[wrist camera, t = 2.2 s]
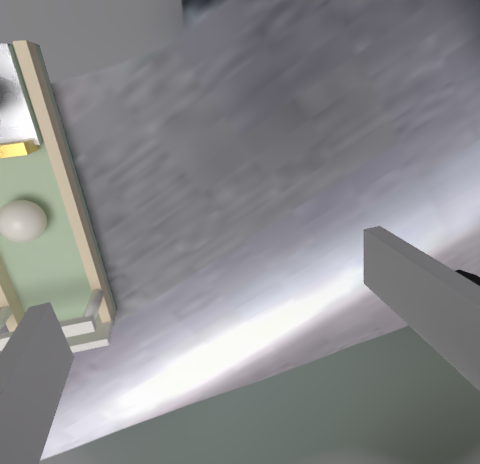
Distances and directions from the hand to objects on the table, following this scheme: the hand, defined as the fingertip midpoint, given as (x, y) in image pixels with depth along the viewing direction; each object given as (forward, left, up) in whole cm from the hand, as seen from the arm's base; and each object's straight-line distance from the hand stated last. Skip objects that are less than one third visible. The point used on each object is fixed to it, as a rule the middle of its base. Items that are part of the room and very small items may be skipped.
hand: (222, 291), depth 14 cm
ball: (+2, -16, -23) cm, 28 cm away
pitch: (+1, -16, -24) cm, 29 cm away
